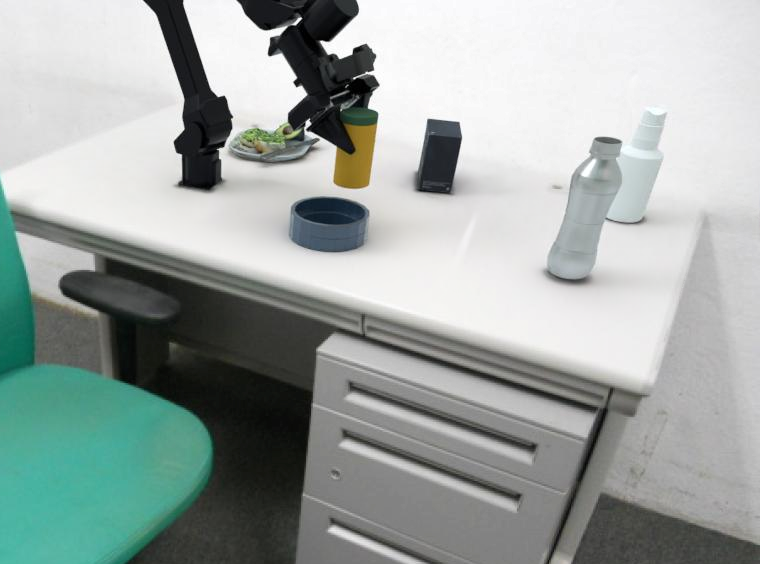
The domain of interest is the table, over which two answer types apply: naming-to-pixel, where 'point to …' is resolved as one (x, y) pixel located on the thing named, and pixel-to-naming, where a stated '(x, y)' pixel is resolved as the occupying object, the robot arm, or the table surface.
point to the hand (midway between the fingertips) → (363, 148)
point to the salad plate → (271, 144)
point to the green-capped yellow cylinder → (362, 133)
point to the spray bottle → (639, 167)
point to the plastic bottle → (586, 210)
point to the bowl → (329, 223)
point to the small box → (439, 155)
